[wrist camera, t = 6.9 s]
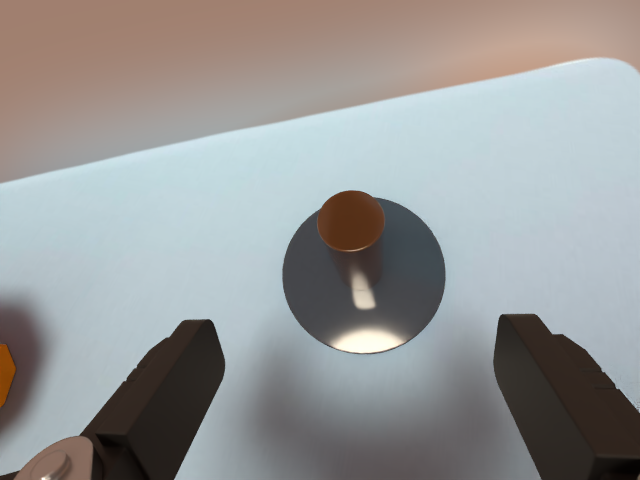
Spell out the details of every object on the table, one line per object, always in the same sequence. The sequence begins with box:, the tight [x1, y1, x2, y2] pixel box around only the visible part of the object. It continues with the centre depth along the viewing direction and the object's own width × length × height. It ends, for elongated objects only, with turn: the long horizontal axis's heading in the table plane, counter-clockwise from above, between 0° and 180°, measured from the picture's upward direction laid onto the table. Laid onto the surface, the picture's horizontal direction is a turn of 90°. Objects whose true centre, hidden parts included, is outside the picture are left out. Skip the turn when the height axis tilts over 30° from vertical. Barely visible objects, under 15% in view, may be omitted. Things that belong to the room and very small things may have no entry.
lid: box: [283, 191, 445, 354], centre depth 16 cm, size 9×9×8 cm
